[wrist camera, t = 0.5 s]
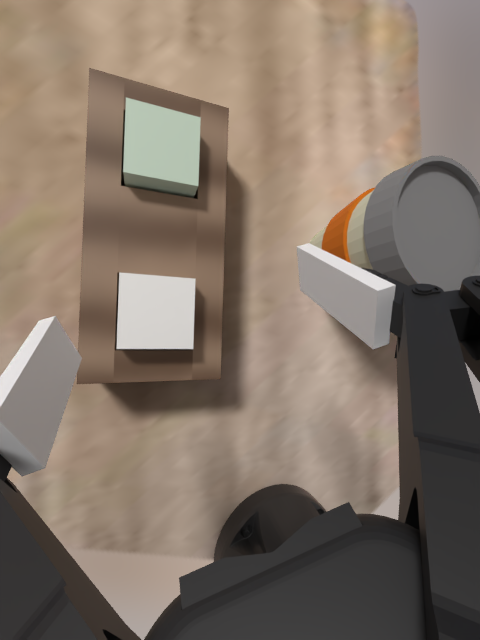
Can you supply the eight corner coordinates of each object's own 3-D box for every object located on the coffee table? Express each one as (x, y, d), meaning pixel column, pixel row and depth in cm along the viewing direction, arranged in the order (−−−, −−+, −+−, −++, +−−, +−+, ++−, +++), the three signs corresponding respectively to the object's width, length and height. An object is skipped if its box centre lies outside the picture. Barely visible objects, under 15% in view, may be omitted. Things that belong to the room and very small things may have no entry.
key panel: (206, 369, 32) (220, 379, 27) (89, 371, 28) (76, 384, 23) (213, 145, 33) (228, 108, 27) (99, 117, 29) (89, 68, 23)
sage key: (189, 208, 29) (198, 186, 24) (126, 198, 27) (123, 171, 22) (191, 150, 29) (200, 117, 24) (129, 136, 27) (125, 97, 22)
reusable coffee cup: (296, 312, 36) (395, 305, 22) (289, 214, 36) (384, 143, 22) (373, 305, 40) (498, 296, 26) (367, 217, 40) (490, 160, 26)
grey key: (184, 344, 29) (193, 349, 24) (121, 344, 27) (116, 349, 22) (186, 285, 29) (195, 278, 24) (123, 281, 27) (119, 272, 22)
